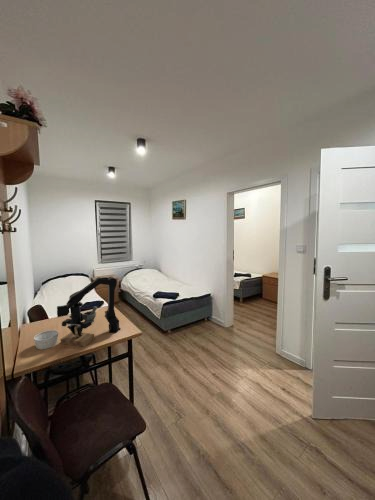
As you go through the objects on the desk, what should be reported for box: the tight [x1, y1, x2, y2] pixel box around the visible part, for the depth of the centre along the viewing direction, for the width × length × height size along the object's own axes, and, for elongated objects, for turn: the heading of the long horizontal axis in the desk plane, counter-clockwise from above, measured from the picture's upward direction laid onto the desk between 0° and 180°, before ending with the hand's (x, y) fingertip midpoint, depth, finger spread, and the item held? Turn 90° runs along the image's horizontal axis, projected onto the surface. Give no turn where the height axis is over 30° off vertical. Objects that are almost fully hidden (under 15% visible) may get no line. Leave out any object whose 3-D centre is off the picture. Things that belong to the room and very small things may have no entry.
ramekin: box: [33, 329, 59, 350], centre depth 134 cm, size 13×13×7 cm
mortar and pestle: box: [82, 306, 98, 324], centre depth 165 cm, size 11×9×12 cm
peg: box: [74, 325, 80, 339], centre depth 138 cm, size 3×3×8 cm
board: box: [59, 331, 95, 348], centre depth 138 cm, size 18×10×3 cm, turn 77°
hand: (77, 335), depth 138 cm, fingers closed on peg, 3 cm apart
